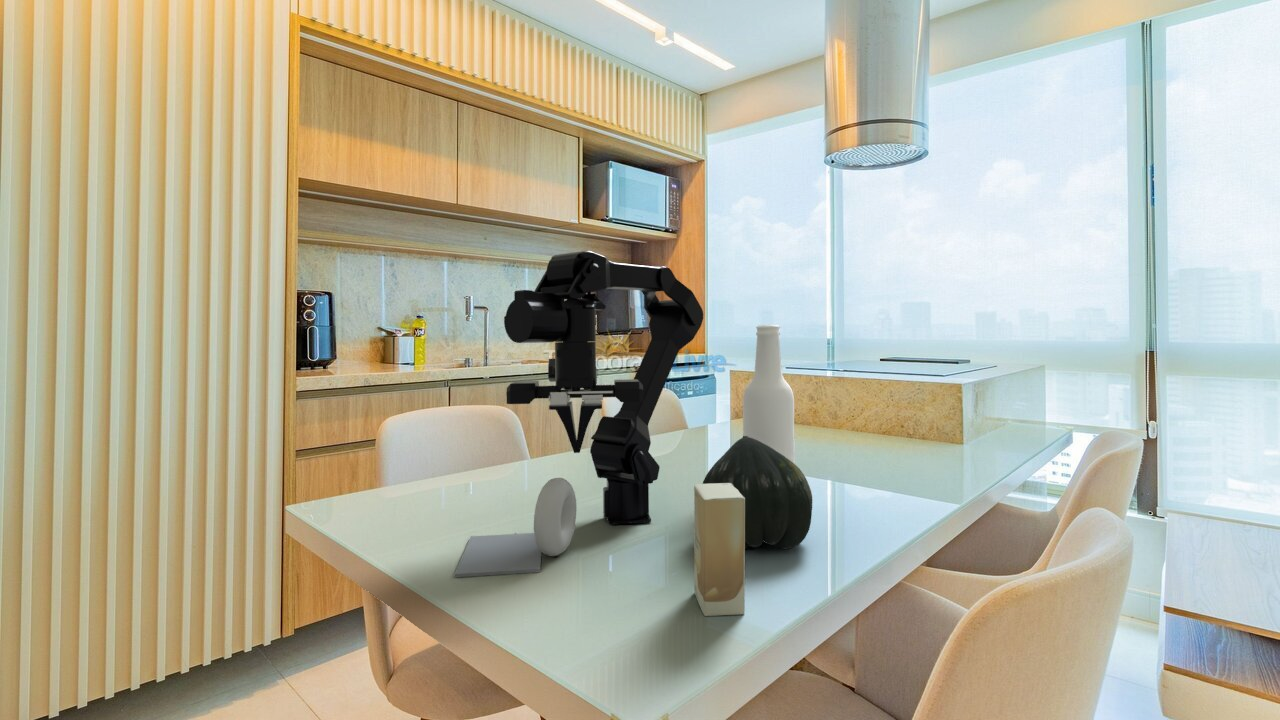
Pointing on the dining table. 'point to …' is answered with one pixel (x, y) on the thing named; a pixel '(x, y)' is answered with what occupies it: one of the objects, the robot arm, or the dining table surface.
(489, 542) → the mat
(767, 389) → the alcohol
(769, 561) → the dining table surface
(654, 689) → the dining table surface
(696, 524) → the skincare box
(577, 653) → the dining table surface
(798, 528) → the squash
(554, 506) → the donut
